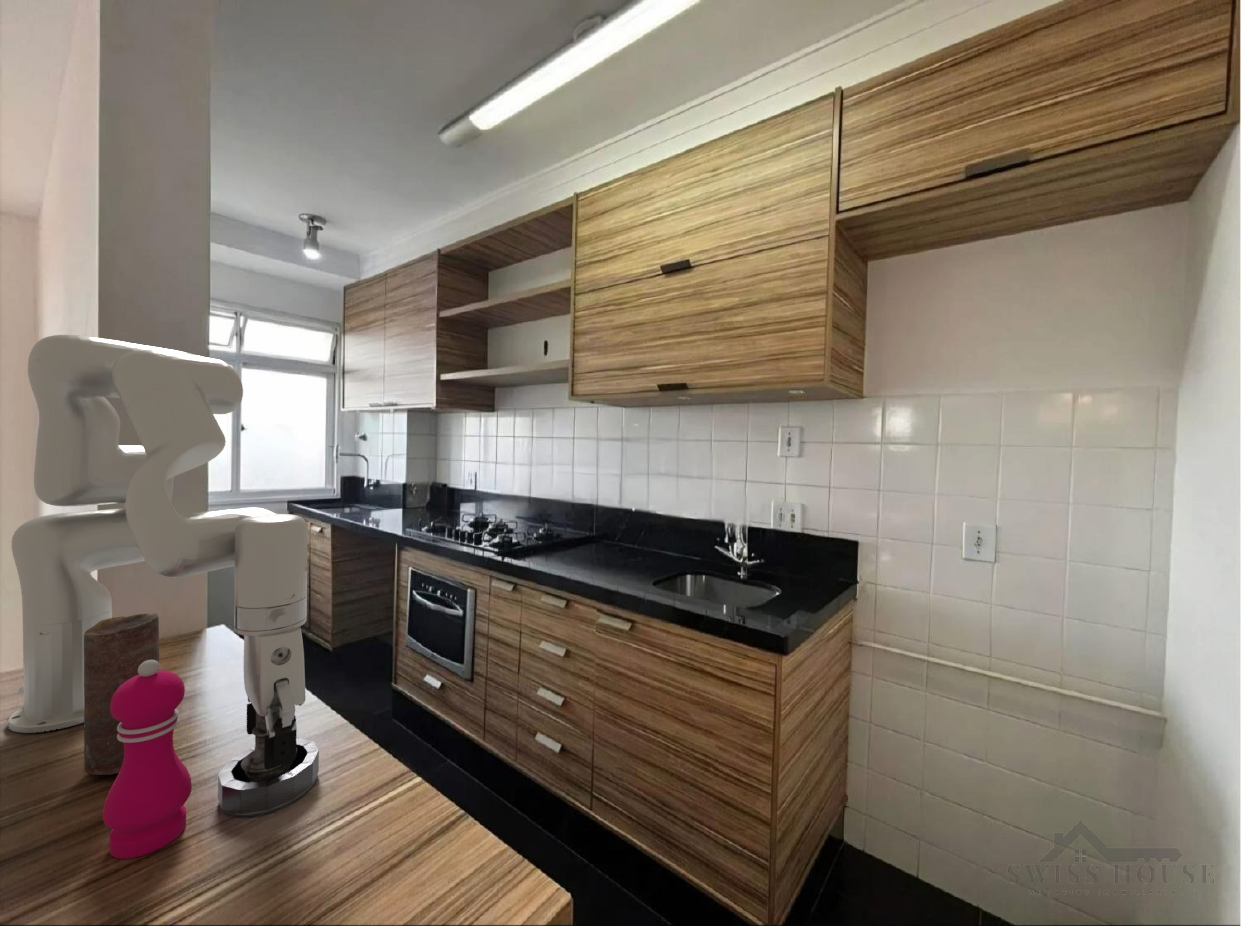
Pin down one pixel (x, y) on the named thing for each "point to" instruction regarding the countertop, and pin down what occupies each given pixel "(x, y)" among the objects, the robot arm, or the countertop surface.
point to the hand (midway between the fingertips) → (270, 746)
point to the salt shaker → (262, 755)
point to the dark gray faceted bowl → (267, 784)
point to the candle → (112, 682)
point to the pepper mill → (147, 765)
